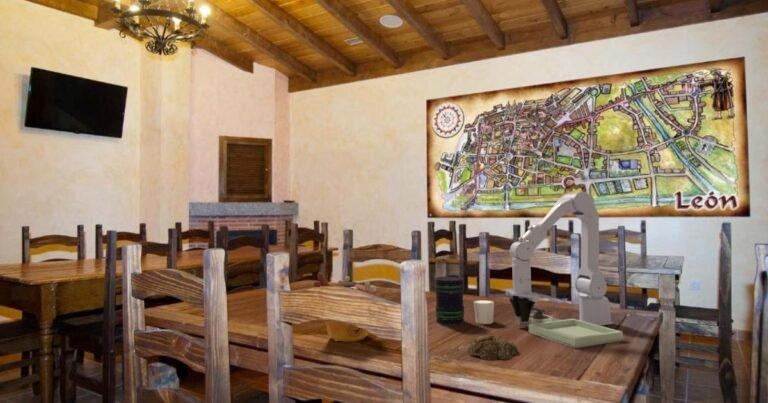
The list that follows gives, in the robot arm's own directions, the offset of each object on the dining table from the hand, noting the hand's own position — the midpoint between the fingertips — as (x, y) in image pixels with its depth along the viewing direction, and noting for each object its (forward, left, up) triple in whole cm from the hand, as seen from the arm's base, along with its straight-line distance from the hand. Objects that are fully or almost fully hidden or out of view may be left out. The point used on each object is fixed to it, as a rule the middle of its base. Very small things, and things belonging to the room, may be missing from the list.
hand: (522, 320), depth 154 cm
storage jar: (+17, -18, -2) cm, 25 cm away
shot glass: (+7, -12, -2) cm, 14 cm away
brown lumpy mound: (+25, +18, -3) cm, 32 cm away
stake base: (-8, 0, -2) cm, 9 cm away
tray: (-6, +16, -2) cm, 17 cm away
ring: (-4, 0, -1) cm, 4 cm away
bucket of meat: (+56, -14, -2) cm, 57 cm away
